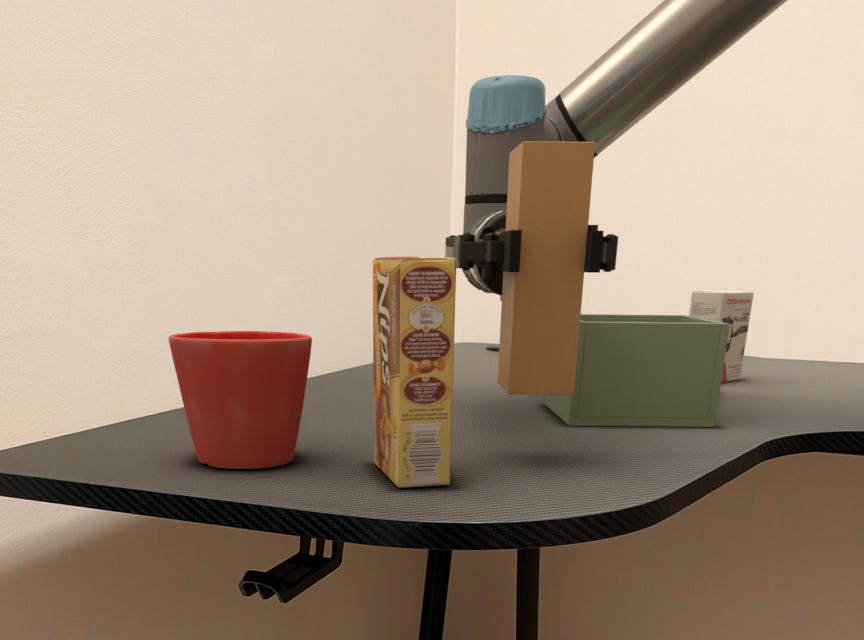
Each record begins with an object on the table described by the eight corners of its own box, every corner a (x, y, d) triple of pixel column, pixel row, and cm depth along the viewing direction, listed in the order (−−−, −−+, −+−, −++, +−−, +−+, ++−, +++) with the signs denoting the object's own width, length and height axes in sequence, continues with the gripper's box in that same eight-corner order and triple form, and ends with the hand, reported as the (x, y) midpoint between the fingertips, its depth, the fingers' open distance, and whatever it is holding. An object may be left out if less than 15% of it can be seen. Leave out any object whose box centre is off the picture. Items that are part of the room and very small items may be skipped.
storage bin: (673, 406, 103) (685, 315, 99) (714, 427, 91) (730, 323, 87) (545, 405, 103) (552, 313, 99) (568, 425, 90) (578, 321, 87)
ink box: (712, 384, 122) (726, 290, 118) (678, 381, 125) (690, 289, 121) (741, 379, 128) (755, 289, 123) (708, 376, 131) (721, 288, 126)
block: (557, 383, 76) (575, 152, 69) (573, 394, 69) (595, 141, 63) (497, 382, 75) (509, 152, 69) (508, 394, 69) (523, 141, 62)
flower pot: (234, 442, 80) (228, 327, 76) (338, 456, 75) (337, 333, 71) (149, 463, 72) (137, 334, 68) (260, 480, 67) (254, 342, 63)
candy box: (452, 487, 65) (462, 256, 59) (395, 490, 64) (399, 256, 59) (420, 462, 73) (426, 256, 67) (369, 464, 72) (370, 256, 66)
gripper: (603, 297, 87) (677, 309, 65) (414, 295, 86) (426, 307, 65) (611, 210, 84) (691, 192, 62) (415, 208, 83) (428, 190, 62)
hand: (555, 251), depth 64 cm, fingers closed on block, 5 cm apart
